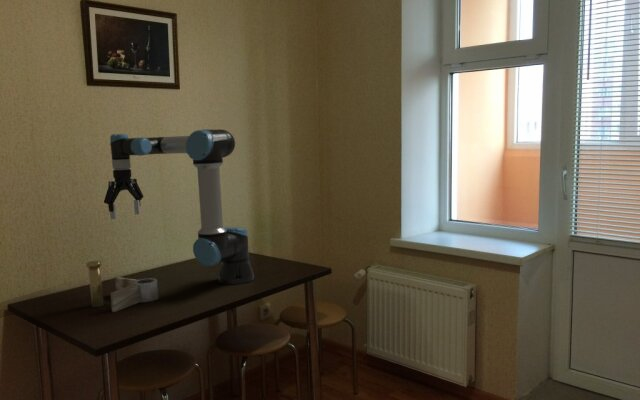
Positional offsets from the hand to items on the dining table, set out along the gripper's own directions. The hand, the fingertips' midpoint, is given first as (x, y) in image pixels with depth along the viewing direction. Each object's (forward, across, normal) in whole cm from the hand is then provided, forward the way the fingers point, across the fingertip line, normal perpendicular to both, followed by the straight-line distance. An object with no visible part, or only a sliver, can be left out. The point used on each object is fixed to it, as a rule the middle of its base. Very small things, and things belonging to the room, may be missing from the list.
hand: (125, 216), depth 234 cm
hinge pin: (+28, +35, +20) cm, 49 cm away
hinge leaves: (+28, +29, +24) cm, 47 cm away
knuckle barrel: (+28, +22, +32) cm, 48 cm away
